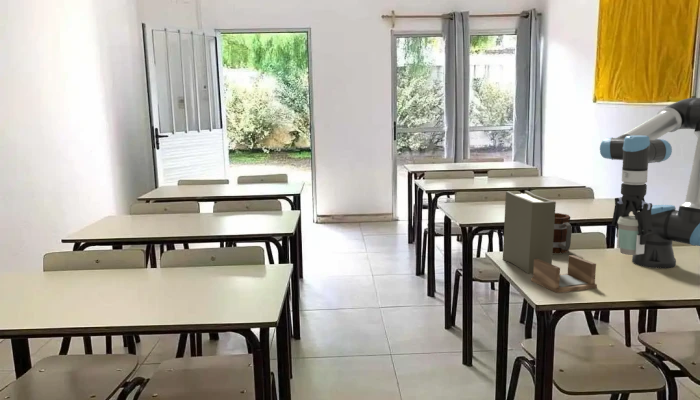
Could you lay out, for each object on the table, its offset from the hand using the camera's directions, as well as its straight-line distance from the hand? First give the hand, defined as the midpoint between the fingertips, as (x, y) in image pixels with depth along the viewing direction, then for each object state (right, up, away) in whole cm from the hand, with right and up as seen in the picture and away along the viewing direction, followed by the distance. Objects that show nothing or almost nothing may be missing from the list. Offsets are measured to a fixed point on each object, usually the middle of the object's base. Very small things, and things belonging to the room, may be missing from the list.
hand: (630, 250), depth 192 cm
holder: (-19, -12, +8) cm, 24 cm away
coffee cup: (0, -1, 0) cm, 1 cm away
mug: (-6, -5, +53) cm, 54 cm away
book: (-25, -9, +31) cm, 41 cm away
